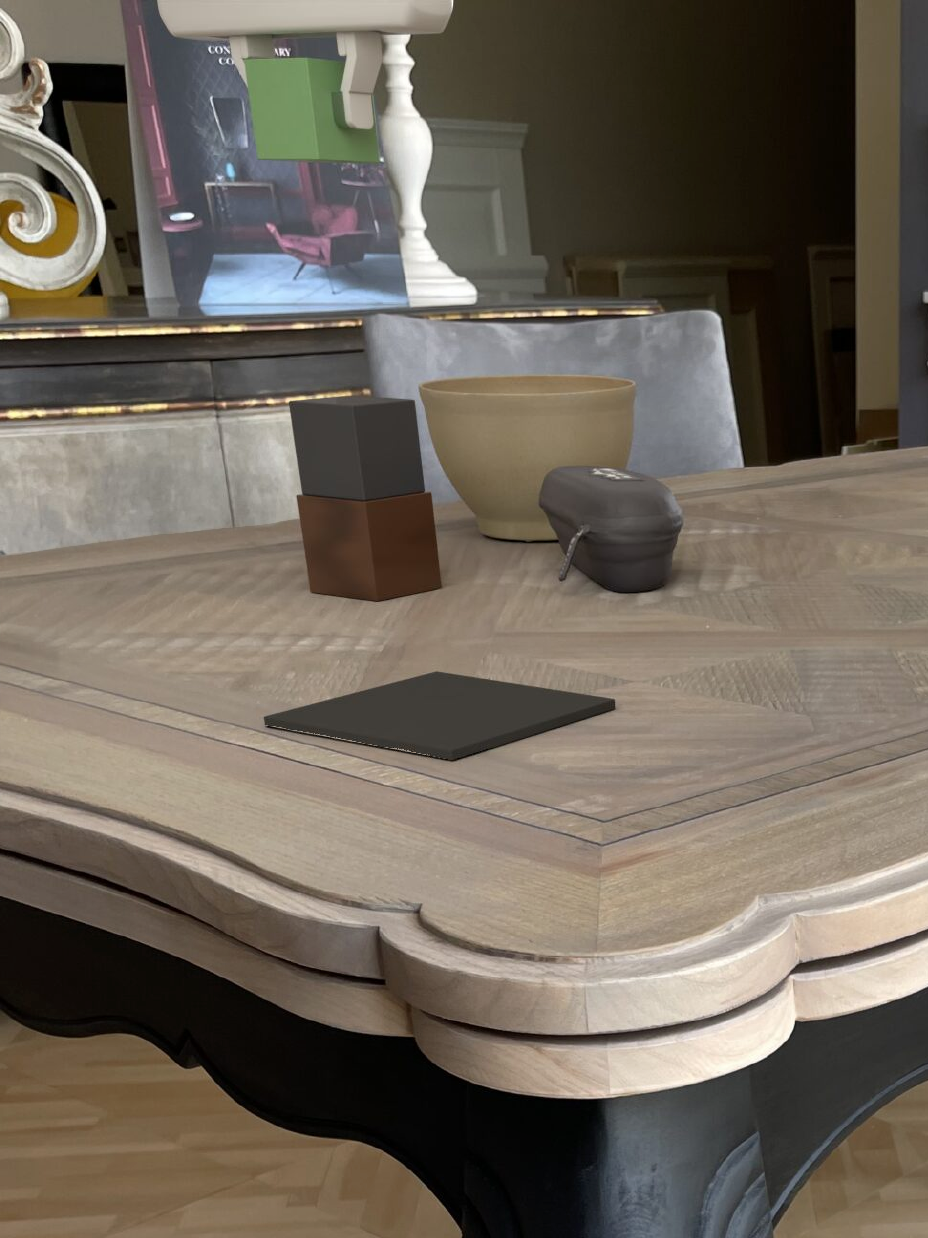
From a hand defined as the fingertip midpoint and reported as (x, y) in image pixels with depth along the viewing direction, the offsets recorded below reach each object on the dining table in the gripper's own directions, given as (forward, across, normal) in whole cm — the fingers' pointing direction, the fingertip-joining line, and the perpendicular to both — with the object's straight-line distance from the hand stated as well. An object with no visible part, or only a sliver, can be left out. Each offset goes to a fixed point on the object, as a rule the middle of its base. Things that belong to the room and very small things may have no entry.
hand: (315, 129), depth 106 cm
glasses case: (+26, +9, +13) cm, 31 cm away
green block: (+2, 0, 0) cm, 2 cm away
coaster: (+26, +28, -24) cm, 45 cm away
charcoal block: (+20, 0, 0) cm, 20 cm away
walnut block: (+26, 0, 0) cm, 26 cm away
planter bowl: (+26, -7, +25) cm, 37 cm away
